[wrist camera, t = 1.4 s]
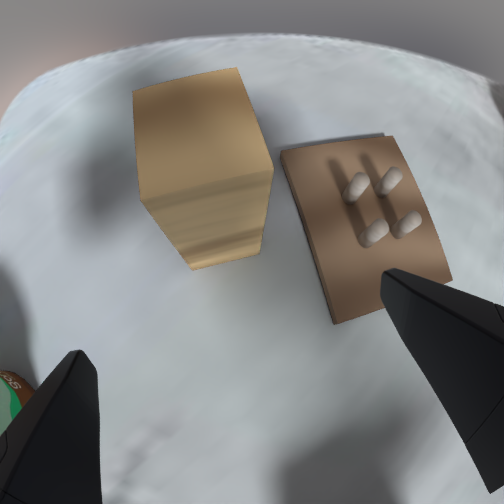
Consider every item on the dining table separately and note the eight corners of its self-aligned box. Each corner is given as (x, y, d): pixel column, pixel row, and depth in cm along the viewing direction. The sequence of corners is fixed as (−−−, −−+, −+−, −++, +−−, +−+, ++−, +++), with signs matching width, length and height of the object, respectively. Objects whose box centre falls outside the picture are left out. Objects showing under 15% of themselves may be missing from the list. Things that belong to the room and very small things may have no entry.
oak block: (259, 253, 23) (274, 168, 11) (192, 270, 22) (140, 200, 11) (239, 182, 24) (236, 67, 12) (178, 197, 24) (132, 91, 12)
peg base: (446, 282, 22) (474, 272, 18) (333, 324, 21) (352, 321, 17) (388, 141, 26) (405, 116, 22) (280, 157, 25) (285, 128, 21)
